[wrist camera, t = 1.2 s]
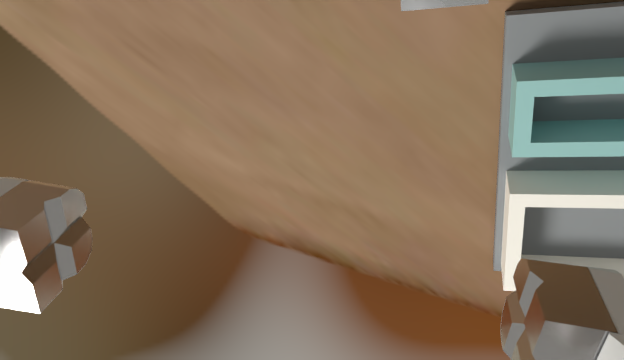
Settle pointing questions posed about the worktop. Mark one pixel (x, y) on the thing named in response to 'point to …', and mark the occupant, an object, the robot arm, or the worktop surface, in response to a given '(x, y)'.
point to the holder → (561, 139)
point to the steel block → (436, 4)
